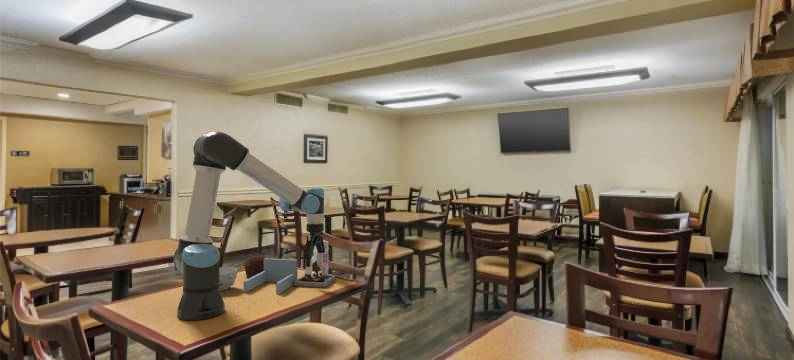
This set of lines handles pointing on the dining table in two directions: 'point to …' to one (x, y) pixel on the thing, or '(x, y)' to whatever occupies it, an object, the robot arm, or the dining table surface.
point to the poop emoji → (314, 274)
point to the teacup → (226, 277)
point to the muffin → (254, 265)
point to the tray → (323, 284)
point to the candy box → (325, 258)
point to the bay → (275, 274)
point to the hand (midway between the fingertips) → (314, 270)
